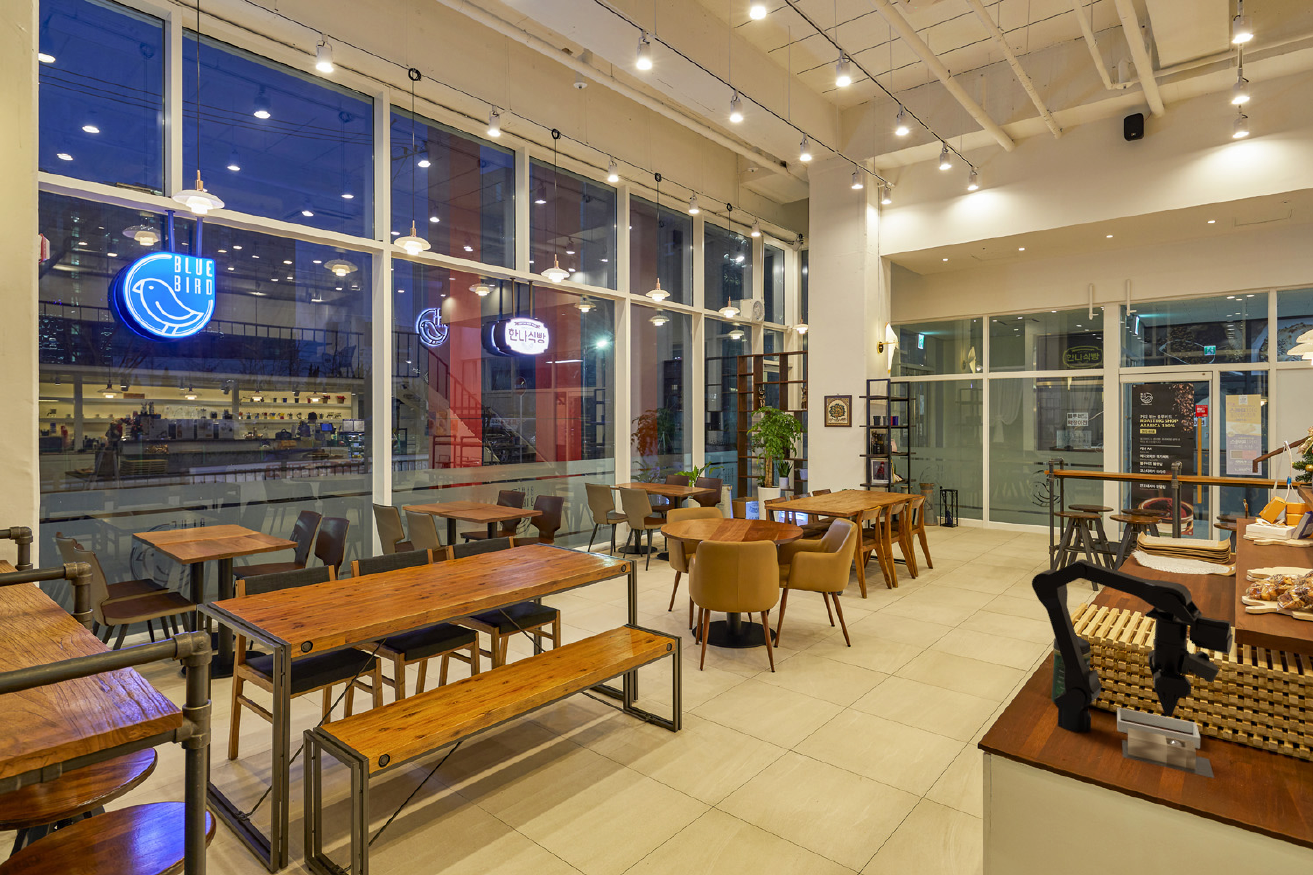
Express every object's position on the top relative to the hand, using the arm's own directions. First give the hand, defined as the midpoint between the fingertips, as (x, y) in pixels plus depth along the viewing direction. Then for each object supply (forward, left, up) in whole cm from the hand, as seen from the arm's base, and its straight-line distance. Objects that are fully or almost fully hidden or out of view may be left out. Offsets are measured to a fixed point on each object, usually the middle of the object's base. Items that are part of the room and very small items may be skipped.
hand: (1166, 707), depth 153 cm
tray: (-1, +12, -12) cm, 17 cm away
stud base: (0, -1, -12) cm, 12 cm away
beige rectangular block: (-1, -1, -11) cm, 11 cm away
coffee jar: (-19, +22, -12) cm, 31 cm away
